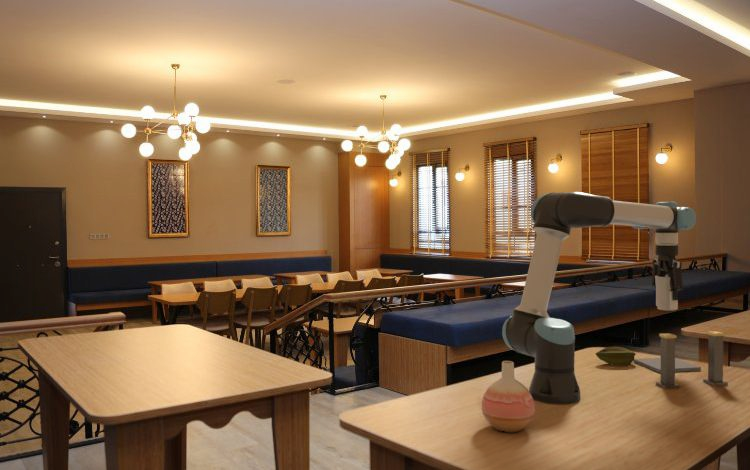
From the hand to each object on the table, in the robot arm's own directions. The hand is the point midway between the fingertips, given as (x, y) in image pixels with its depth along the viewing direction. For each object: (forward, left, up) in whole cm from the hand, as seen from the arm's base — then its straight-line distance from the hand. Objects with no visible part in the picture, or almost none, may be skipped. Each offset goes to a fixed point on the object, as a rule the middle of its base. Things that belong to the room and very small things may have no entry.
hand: (666, 307), depth 227 cm
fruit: (-16, +6, -22) cm, 28 cm away
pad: (0, 0, -22) cm, 22 cm away
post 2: (+1, -24, -22) cm, 32 cm away
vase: (-80, -52, -22) cm, 98 cm away
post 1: (-16, -24, -22) cm, 36 cm away
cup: (0, 0, -1) cm, 1 cm away
